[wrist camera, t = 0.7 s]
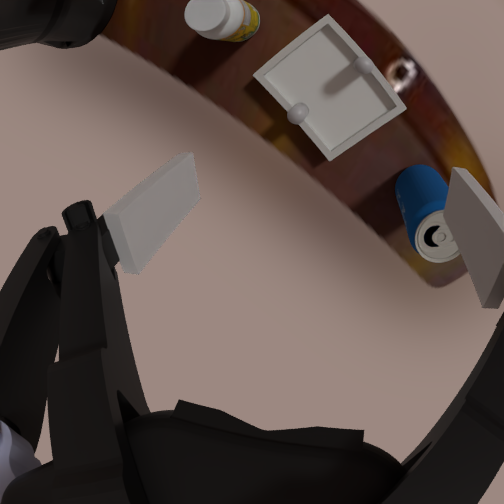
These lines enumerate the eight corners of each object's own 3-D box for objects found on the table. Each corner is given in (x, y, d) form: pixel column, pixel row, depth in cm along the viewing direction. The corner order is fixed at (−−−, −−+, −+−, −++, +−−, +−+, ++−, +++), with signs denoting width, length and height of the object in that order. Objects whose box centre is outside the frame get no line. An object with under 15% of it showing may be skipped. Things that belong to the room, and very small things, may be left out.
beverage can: (392, 163, 33) (410, 207, 24) (441, 161, 31) (476, 204, 22) (395, 211, 37) (409, 268, 27) (441, 209, 34) (468, 264, 25)
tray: (257, 74, 32) (244, 76, 28) (328, 17, 25) (326, 9, 21) (330, 155, 35) (328, 170, 31) (403, 105, 29) (412, 113, 25)
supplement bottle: (260, 0, 26) (233, -18, 18) (261, 41, 29) (234, 35, 22) (215, 4, 27) (177, -9, 20) (216, 43, 30) (178, 41, 23)
